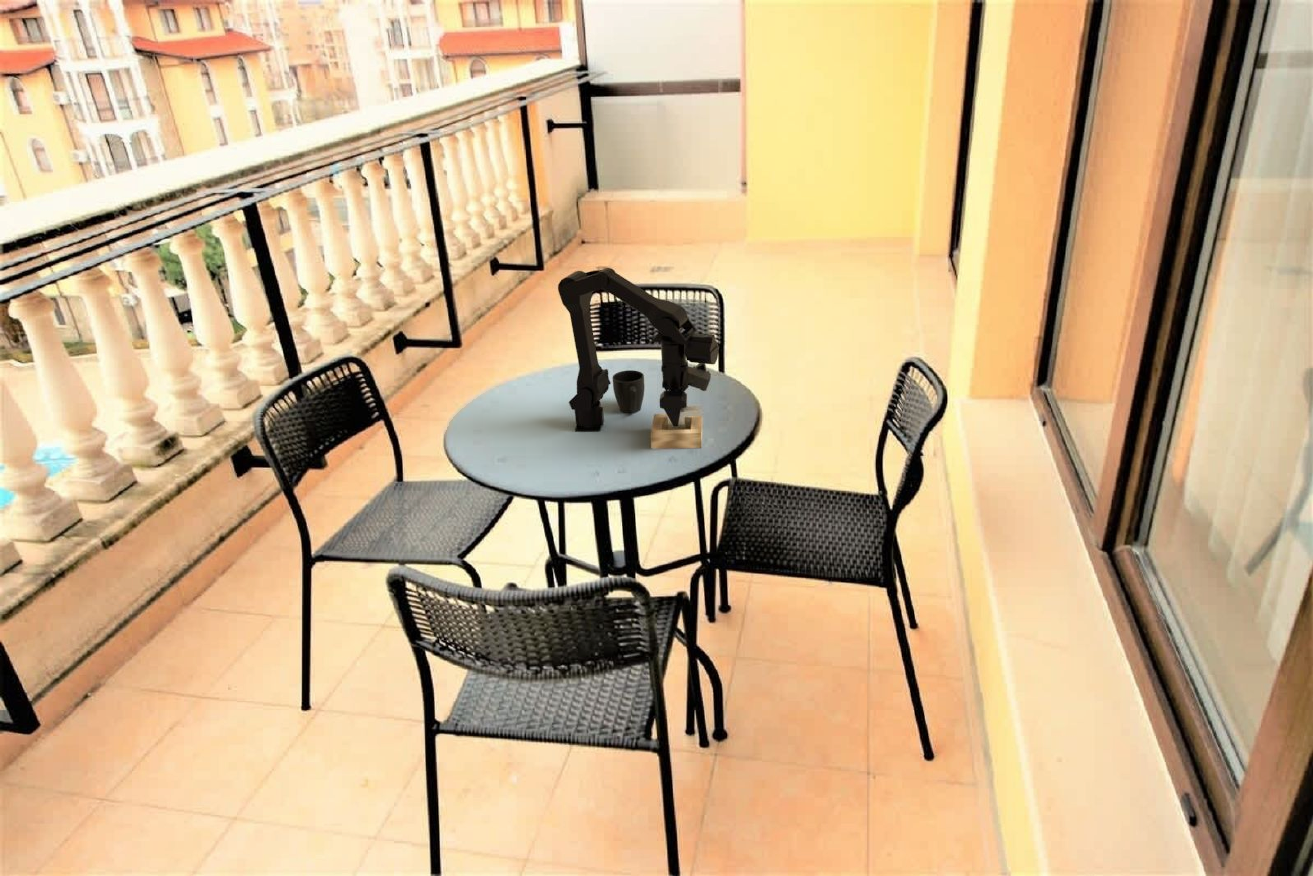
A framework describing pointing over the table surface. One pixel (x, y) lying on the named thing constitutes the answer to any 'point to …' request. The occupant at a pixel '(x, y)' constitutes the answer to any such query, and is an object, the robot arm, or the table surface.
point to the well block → (676, 433)
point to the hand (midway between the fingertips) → (676, 419)
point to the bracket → (684, 413)
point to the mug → (629, 390)
